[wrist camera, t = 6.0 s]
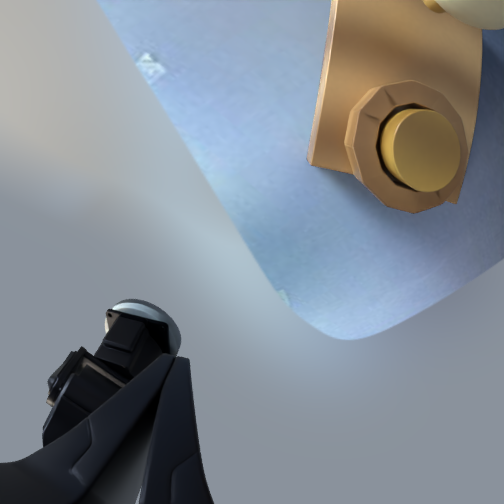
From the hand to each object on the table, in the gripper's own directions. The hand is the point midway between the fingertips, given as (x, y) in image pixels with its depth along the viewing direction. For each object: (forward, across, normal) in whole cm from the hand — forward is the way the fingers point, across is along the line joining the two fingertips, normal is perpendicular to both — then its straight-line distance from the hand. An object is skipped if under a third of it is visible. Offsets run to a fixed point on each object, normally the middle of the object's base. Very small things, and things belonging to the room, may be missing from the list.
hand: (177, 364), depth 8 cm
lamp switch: (+8, -9, -7) cm, 14 cm away
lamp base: (+12, -9, -12) cm, 19 cm away
